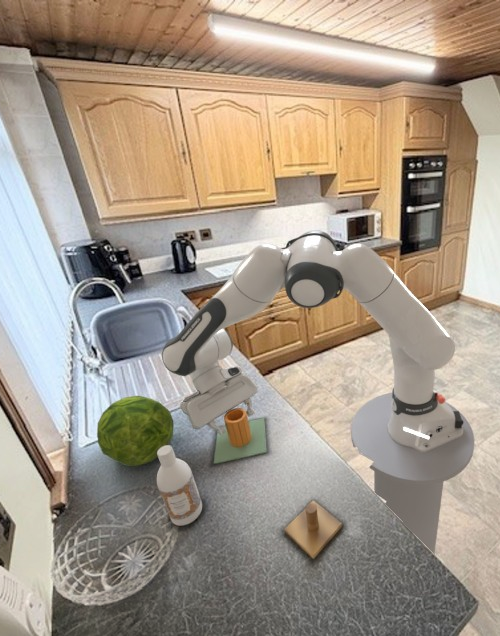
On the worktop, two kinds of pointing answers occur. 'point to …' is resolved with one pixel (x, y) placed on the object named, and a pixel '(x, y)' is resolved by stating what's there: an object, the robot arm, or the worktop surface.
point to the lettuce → (134, 430)
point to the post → (313, 528)
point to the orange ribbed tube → (237, 427)
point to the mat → (252, 448)
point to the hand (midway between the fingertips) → (237, 424)
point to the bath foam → (177, 488)
